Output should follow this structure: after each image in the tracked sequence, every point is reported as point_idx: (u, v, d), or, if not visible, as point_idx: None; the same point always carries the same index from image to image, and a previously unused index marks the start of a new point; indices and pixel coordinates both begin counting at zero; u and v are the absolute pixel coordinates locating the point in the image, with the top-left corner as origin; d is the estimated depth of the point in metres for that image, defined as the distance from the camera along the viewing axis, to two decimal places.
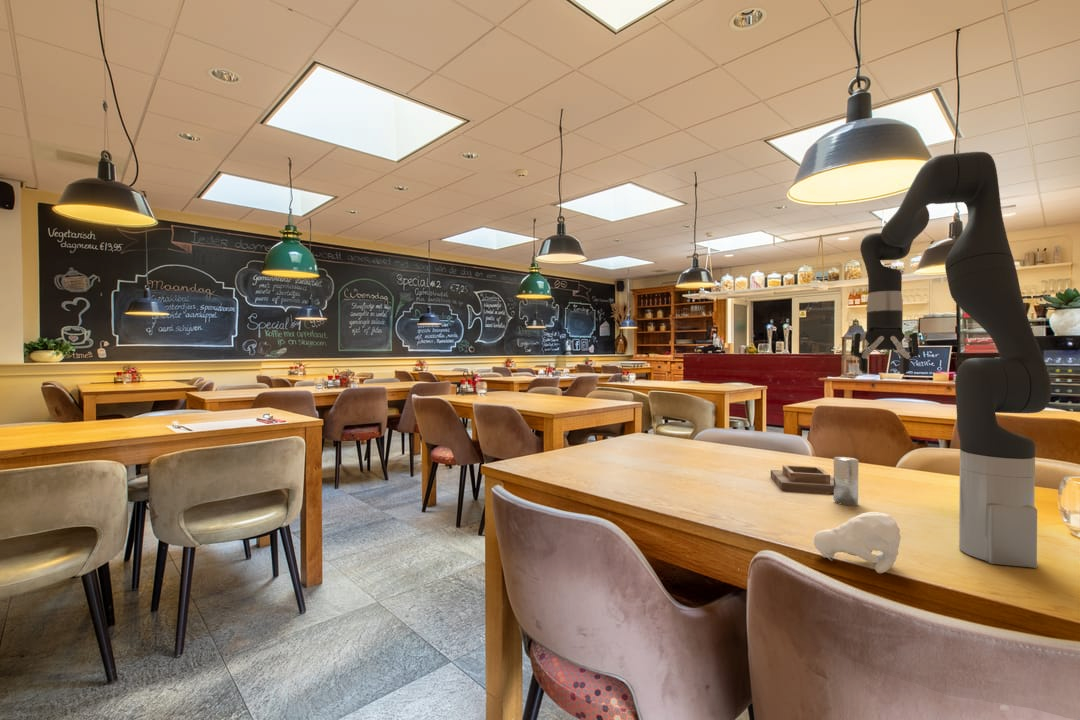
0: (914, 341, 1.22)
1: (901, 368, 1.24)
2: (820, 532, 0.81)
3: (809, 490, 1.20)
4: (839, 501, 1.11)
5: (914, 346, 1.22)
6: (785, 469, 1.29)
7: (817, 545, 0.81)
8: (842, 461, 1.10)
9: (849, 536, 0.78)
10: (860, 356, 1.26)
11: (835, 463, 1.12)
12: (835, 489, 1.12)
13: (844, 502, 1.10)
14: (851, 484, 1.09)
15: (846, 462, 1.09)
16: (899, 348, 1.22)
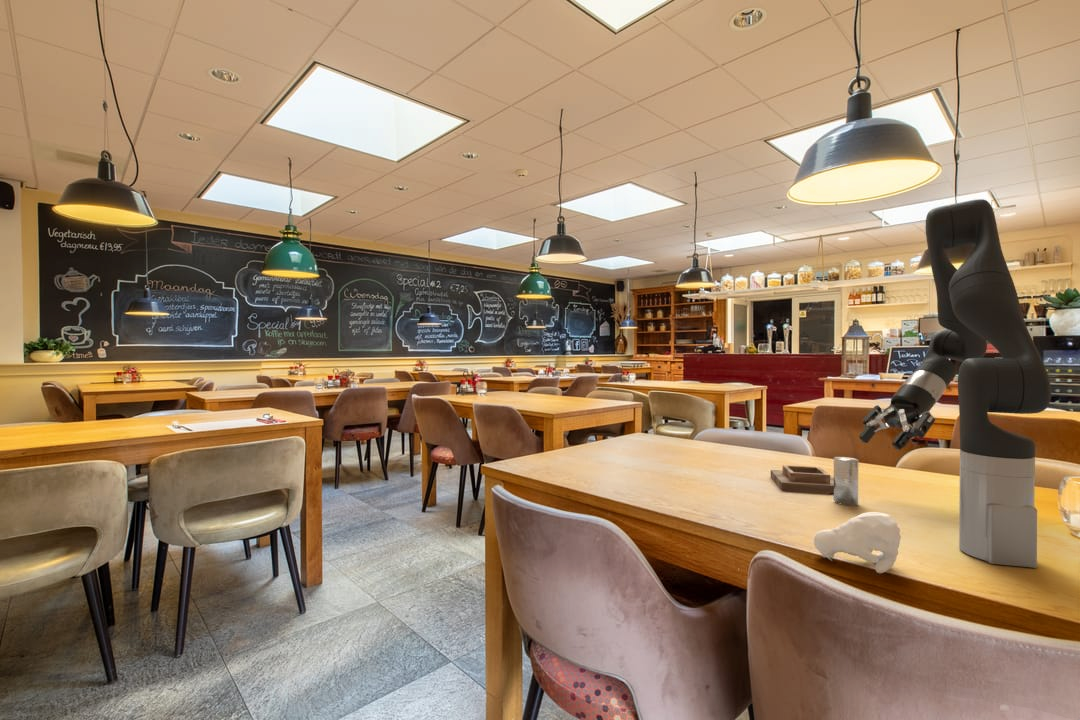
0: (922, 418, 1.09)
1: None
2: (820, 532, 0.81)
3: (809, 490, 1.20)
4: (839, 501, 1.11)
5: (918, 422, 1.08)
6: (785, 469, 1.29)
7: (817, 545, 0.81)
8: (842, 461, 1.10)
9: (849, 536, 0.78)
10: (867, 424, 1.19)
11: (835, 463, 1.12)
12: (835, 489, 1.12)
13: (844, 502, 1.10)
14: (851, 484, 1.09)
15: (846, 462, 1.09)
16: (901, 420, 1.11)
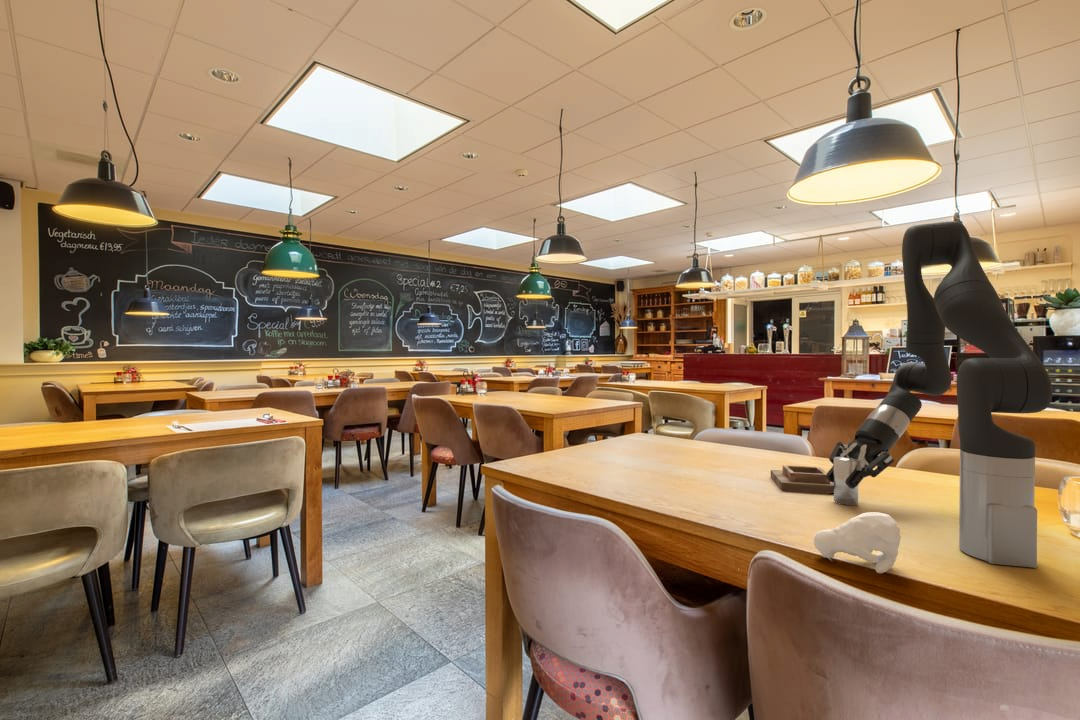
0: (878, 458, 1.07)
1: None
2: (820, 532, 0.81)
3: (809, 490, 1.20)
4: (839, 501, 1.11)
5: (874, 461, 1.07)
6: (785, 469, 1.29)
7: (817, 545, 0.81)
8: (842, 461, 1.10)
9: (849, 536, 0.78)
10: None
11: (835, 463, 1.12)
12: (835, 489, 1.12)
13: (844, 502, 1.10)
14: None
15: (846, 462, 1.09)
16: (859, 457, 1.10)
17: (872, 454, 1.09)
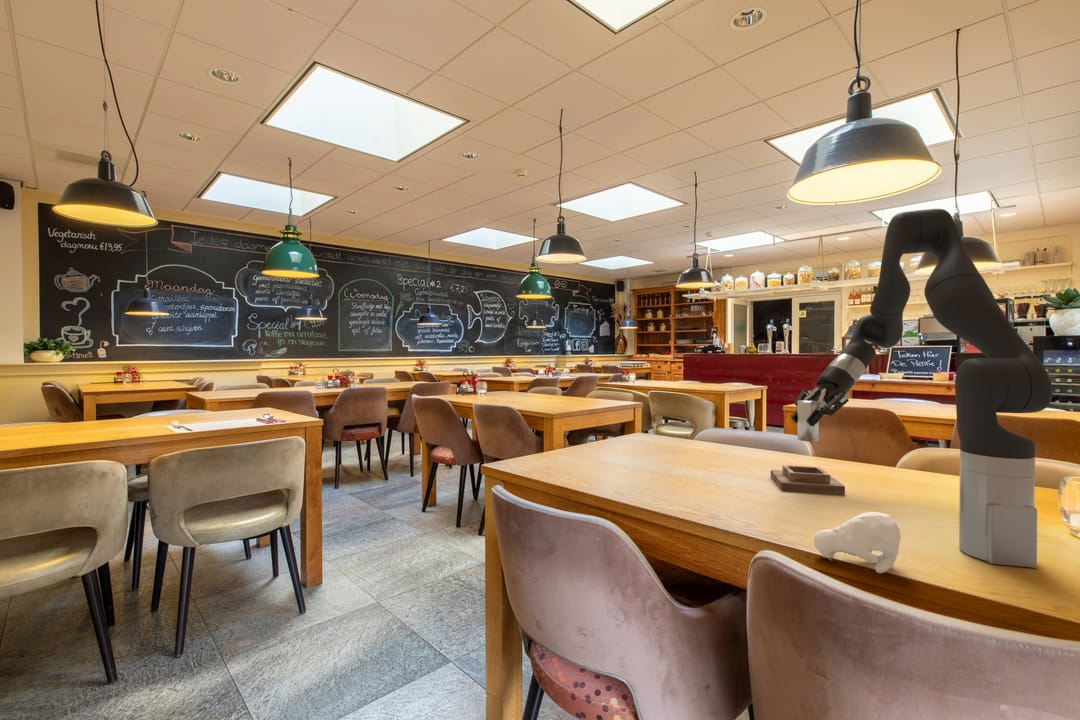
0: (835, 398, 1.21)
1: None
2: (820, 532, 0.81)
3: (809, 490, 1.20)
4: (802, 438, 1.25)
5: (831, 401, 1.21)
6: (785, 469, 1.29)
7: (817, 545, 0.81)
8: (804, 402, 1.24)
9: (849, 536, 0.78)
10: None
11: (798, 405, 1.26)
12: (798, 428, 1.26)
13: (806, 439, 1.24)
14: None
15: (807, 403, 1.24)
16: (819, 399, 1.24)
17: (830, 396, 1.24)
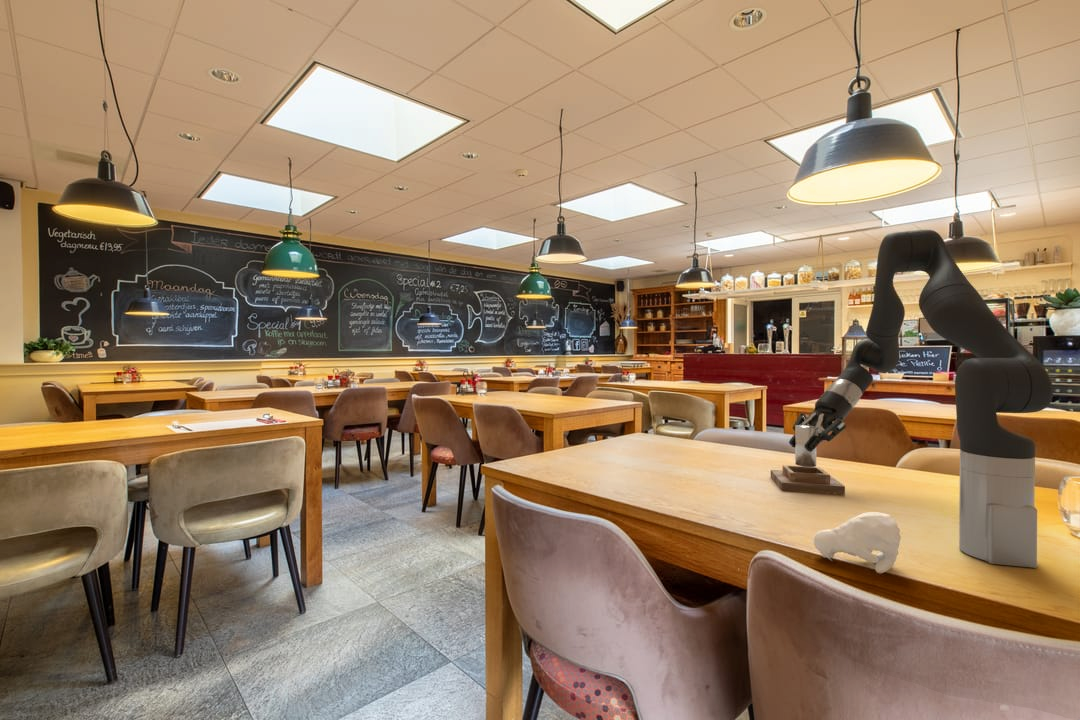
0: (832, 424, 1.22)
1: None
2: (820, 532, 0.81)
3: (809, 490, 1.20)
4: (799, 463, 1.25)
5: (828, 427, 1.22)
6: (785, 469, 1.29)
7: (817, 545, 0.81)
8: (802, 428, 1.25)
9: (849, 536, 0.78)
10: None
11: (796, 430, 1.26)
12: (796, 453, 1.27)
13: (804, 464, 1.25)
14: None
15: (805, 428, 1.24)
16: (817, 424, 1.25)
17: (828, 421, 1.24)
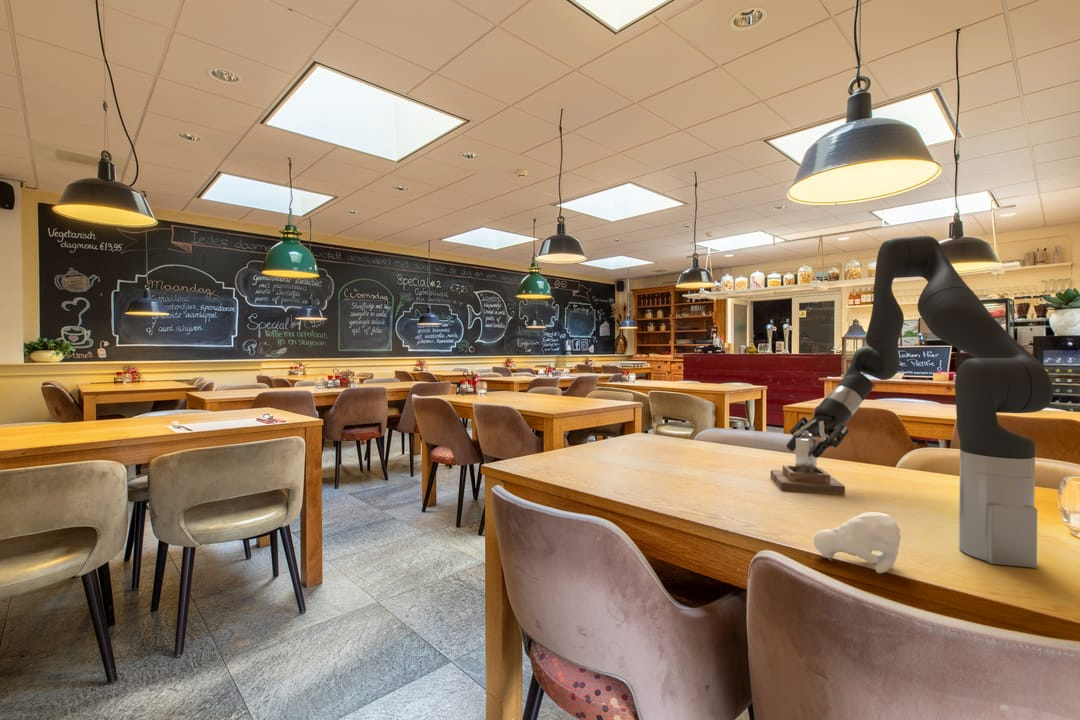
0: (836, 429, 1.21)
1: None
2: (820, 532, 0.81)
3: (809, 490, 1.20)
4: None
5: (833, 433, 1.21)
6: (785, 469, 1.29)
7: (817, 545, 0.81)
8: (802, 441, 1.25)
9: (849, 536, 0.78)
10: None
11: (796, 443, 1.26)
12: (796, 466, 1.26)
13: None
14: (810, 461, 1.24)
15: (805, 441, 1.24)
16: (820, 431, 1.24)
17: (830, 427, 1.24)
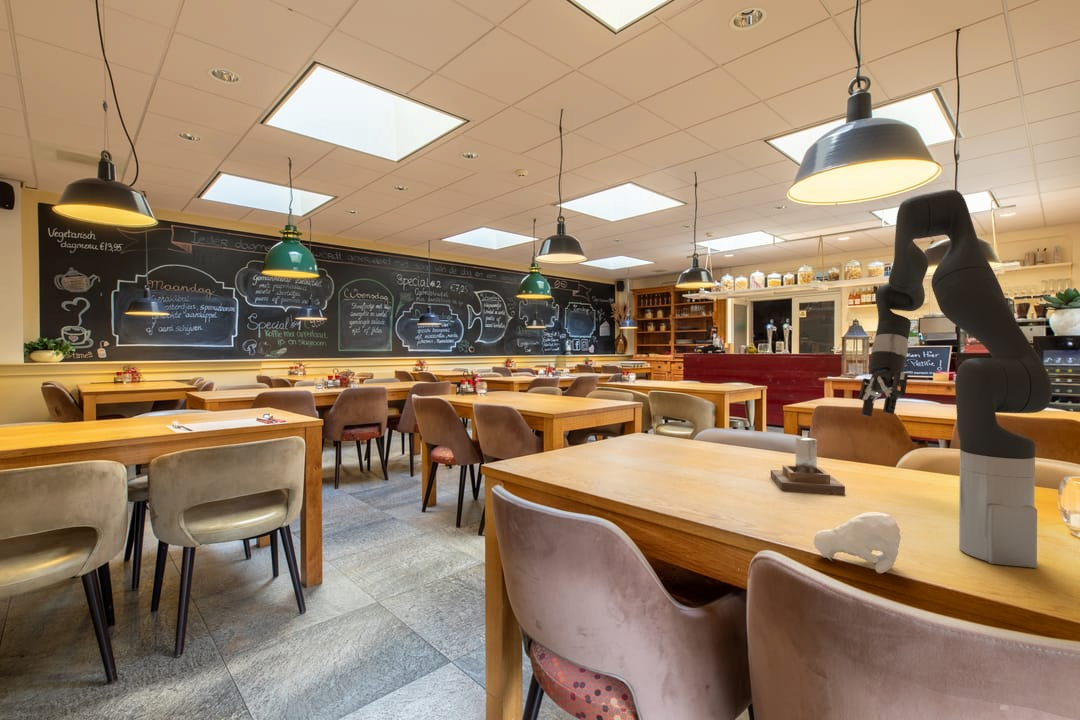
0: (894, 379, 1.19)
1: None
2: (820, 532, 0.81)
3: (809, 490, 1.20)
4: None
5: (893, 384, 1.19)
6: (785, 469, 1.29)
7: (817, 545, 0.81)
8: (802, 440, 1.25)
9: (849, 536, 0.78)
10: None
11: (796, 442, 1.27)
12: (796, 465, 1.26)
13: None
14: (810, 461, 1.24)
15: (805, 441, 1.24)
16: (882, 387, 1.22)
17: (889, 379, 1.22)
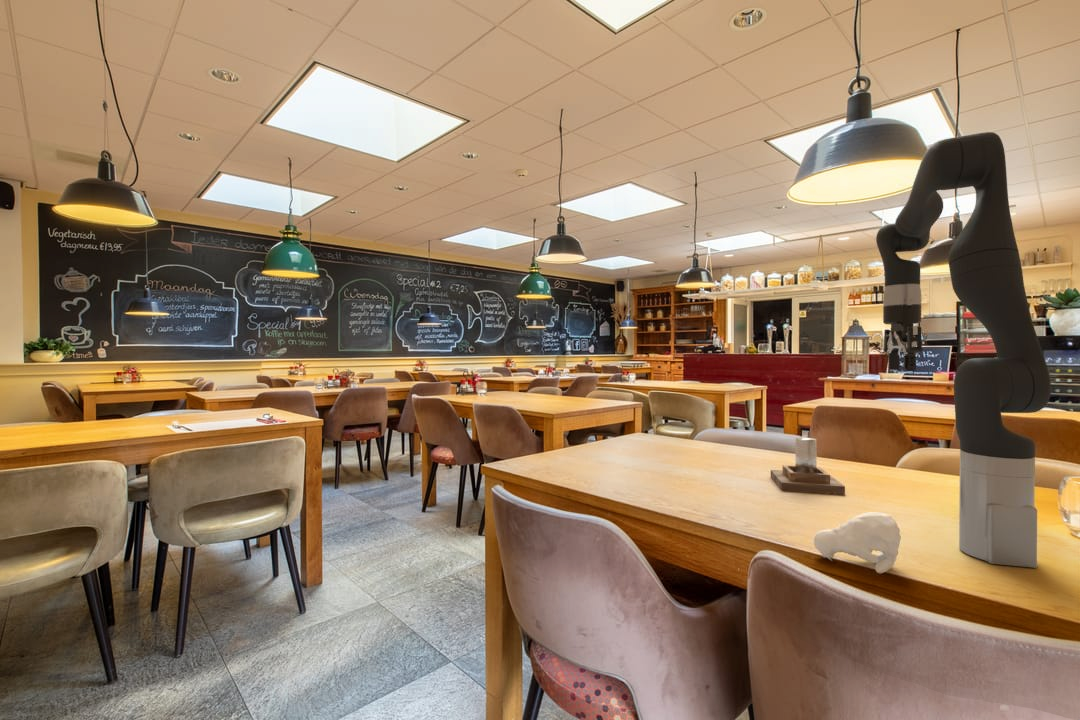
0: (907, 335, 1.14)
1: None
2: (820, 532, 0.81)
3: (809, 490, 1.20)
4: None
5: (907, 341, 1.14)
6: (785, 469, 1.29)
7: (817, 545, 0.81)
8: (802, 440, 1.25)
9: (849, 536, 0.78)
10: None
11: (796, 442, 1.27)
12: (796, 465, 1.27)
13: None
14: (809, 461, 1.24)
15: (805, 441, 1.25)
16: (899, 343, 1.17)
17: (904, 334, 1.17)
